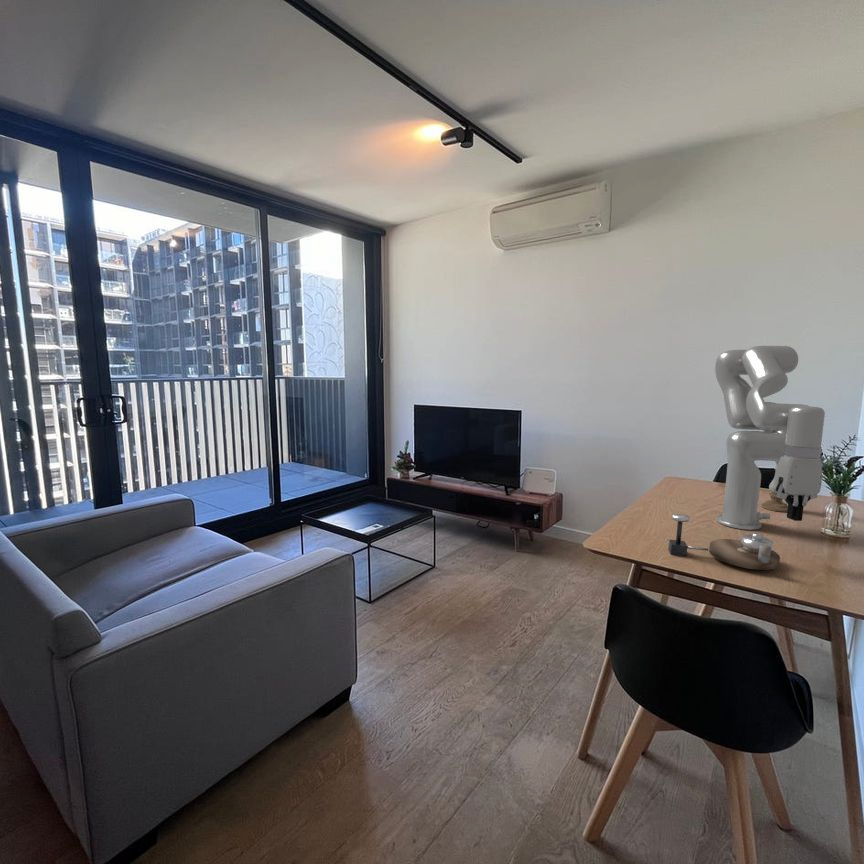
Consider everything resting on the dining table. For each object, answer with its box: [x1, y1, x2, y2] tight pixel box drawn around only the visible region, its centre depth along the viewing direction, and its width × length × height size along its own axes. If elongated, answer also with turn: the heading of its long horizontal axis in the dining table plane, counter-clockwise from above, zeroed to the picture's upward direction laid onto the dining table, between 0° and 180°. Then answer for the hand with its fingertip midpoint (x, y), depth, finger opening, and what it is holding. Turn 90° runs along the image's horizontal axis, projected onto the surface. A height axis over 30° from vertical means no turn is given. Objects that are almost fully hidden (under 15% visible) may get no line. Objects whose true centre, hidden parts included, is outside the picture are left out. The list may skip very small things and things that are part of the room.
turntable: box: [708, 538, 781, 571], centre depth 126 cm, size 16×16×6 cm
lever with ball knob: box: [667, 512, 709, 558], centre depth 130 cm, size 10×4×11 cm, turn 72°
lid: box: [740, 532, 774, 555], centre depth 127 cm, size 7×7×4 cm
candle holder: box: [761, 461, 788, 513], centre depth 171 cm, size 9×9×20 cm
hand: (794, 519), depth 126 cm, fingers closed
